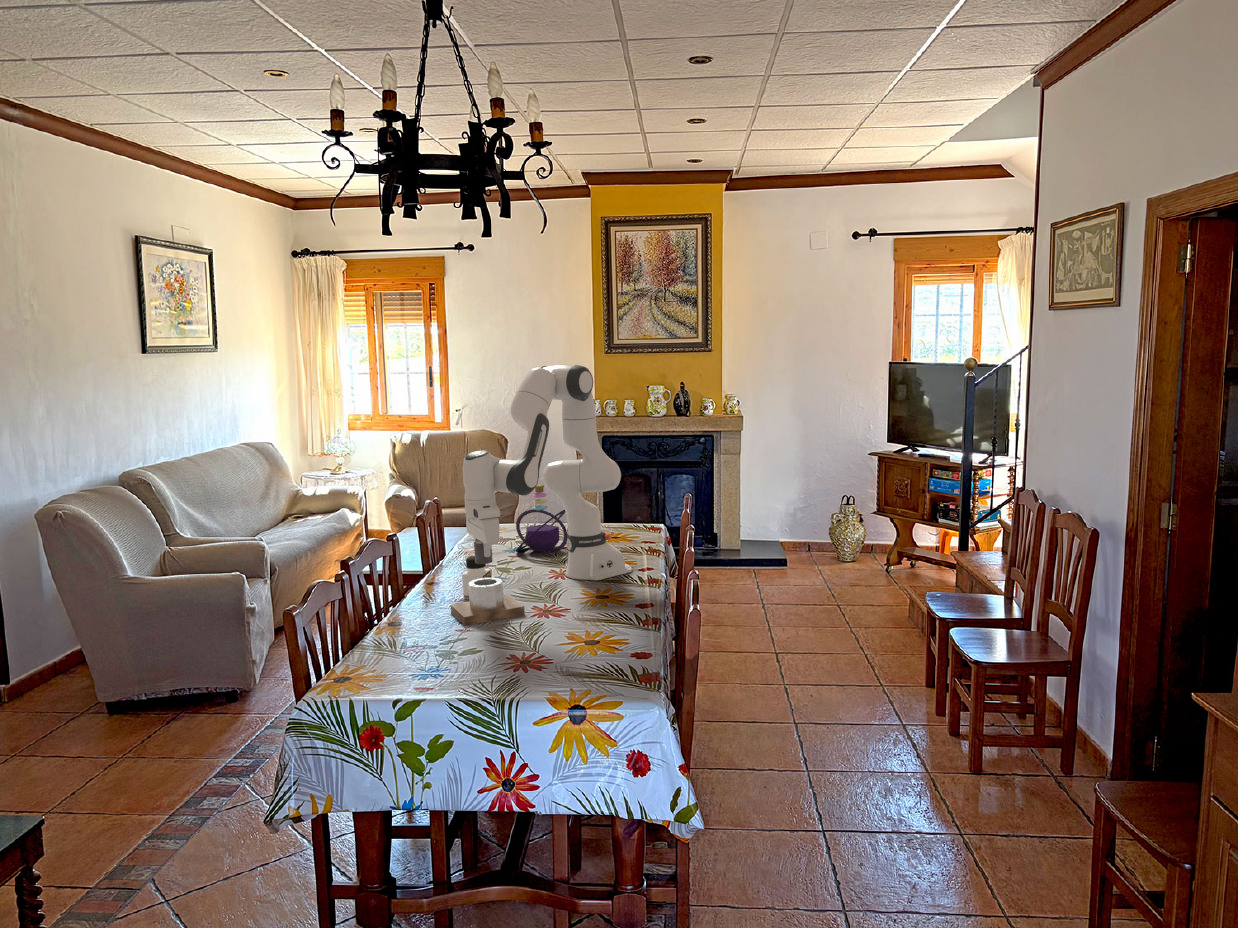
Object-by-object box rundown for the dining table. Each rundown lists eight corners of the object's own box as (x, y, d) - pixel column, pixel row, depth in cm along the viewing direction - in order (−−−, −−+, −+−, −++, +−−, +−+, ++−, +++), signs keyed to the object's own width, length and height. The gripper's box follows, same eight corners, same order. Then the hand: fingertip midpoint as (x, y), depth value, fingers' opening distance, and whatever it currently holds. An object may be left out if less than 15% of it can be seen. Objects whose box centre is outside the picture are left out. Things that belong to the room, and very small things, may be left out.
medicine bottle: (484, 596, 277) (482, 559, 275) (463, 596, 278) (460, 559, 276) (492, 589, 284) (490, 553, 282) (471, 589, 285) (468, 553, 283)
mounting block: (508, 602, 270) (508, 594, 269) (524, 614, 257) (524, 606, 257) (451, 612, 262) (450, 604, 261) (464, 625, 249) (464, 617, 249)
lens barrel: (497, 598, 266) (495, 575, 264) (507, 606, 257) (506, 583, 256) (466, 603, 261) (464, 581, 260) (476, 612, 253) (474, 588, 252)
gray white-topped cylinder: (489, 558, 260) (488, 538, 260) (494, 562, 256) (493, 542, 255) (473, 561, 258) (471, 541, 257) (478, 565, 254) (476, 544, 253)
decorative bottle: (527, 542, 346) (524, 479, 343) (578, 543, 341) (575, 480, 337) (505, 557, 325) (501, 490, 321) (559, 558, 319) (555, 490, 316)
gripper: (459, 503, 263) (462, 548, 265) (480, 514, 245) (483, 563, 247) (480, 500, 265) (482, 545, 267) (502, 511, 247) (505, 559, 249)
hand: (483, 554), depth 257 cm, fingers closed on gray white-topped cylinder, 5 cm apart
